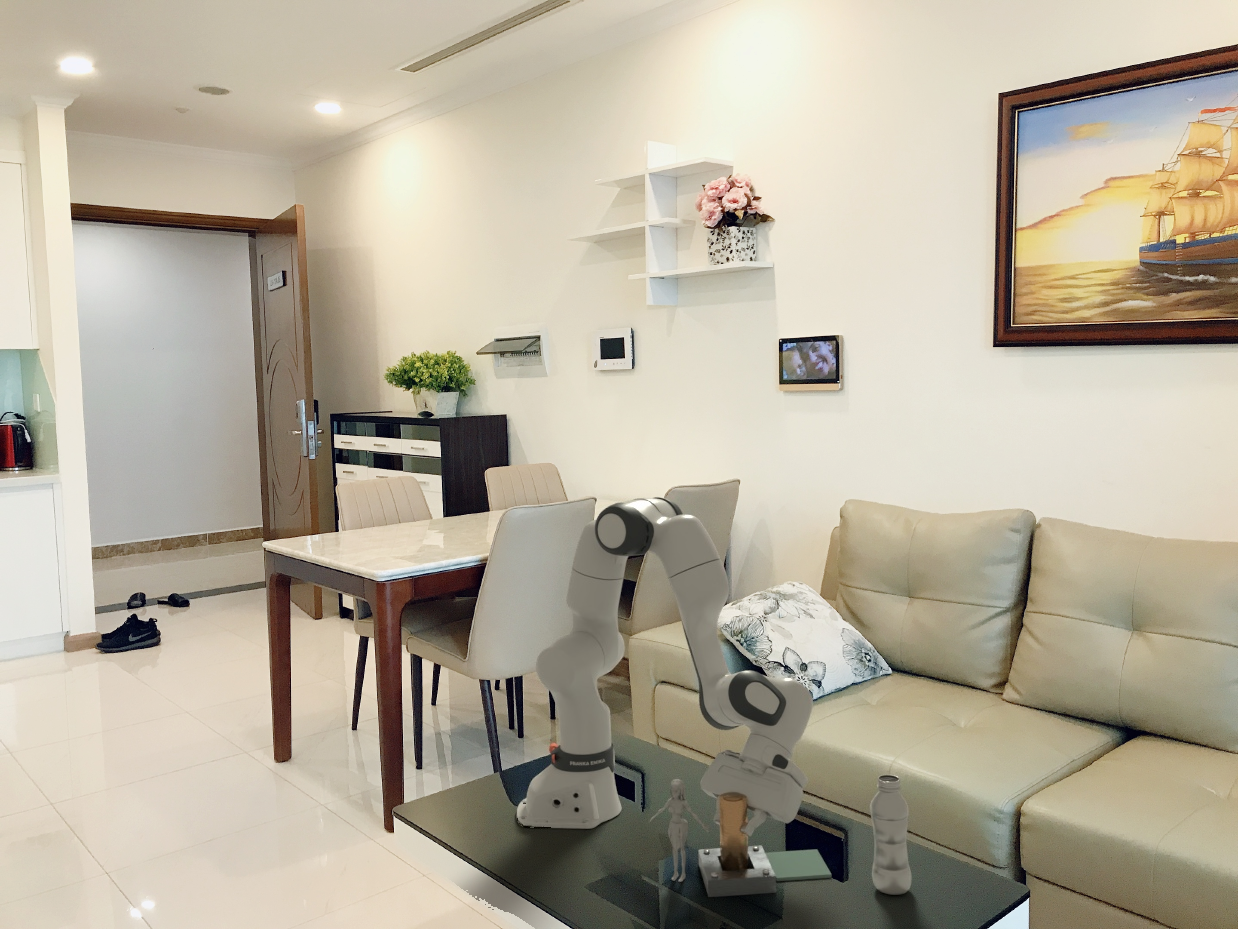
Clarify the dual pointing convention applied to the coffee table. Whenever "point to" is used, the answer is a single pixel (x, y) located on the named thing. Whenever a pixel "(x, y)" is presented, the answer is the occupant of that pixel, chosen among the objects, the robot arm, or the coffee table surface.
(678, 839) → the human figurine
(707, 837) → the coffee table surface
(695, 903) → the coffee table surface
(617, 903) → the coffee table surface
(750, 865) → the housing
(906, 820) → the plastic bottle
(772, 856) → the mat
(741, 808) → the copper plug
